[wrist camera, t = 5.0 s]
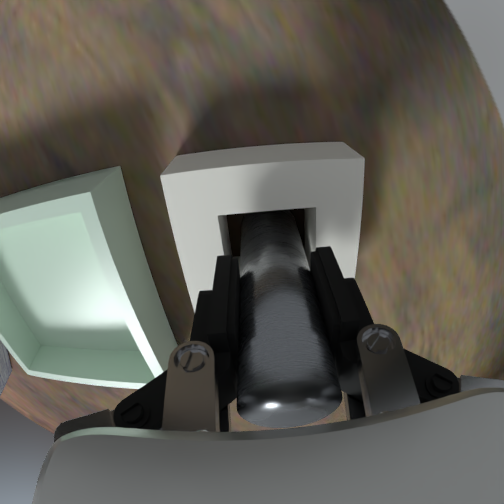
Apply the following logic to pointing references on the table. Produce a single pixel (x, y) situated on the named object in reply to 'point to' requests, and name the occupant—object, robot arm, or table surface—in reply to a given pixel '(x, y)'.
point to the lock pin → (281, 329)
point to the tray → (80, 285)
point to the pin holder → (263, 200)
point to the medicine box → (4, 366)
